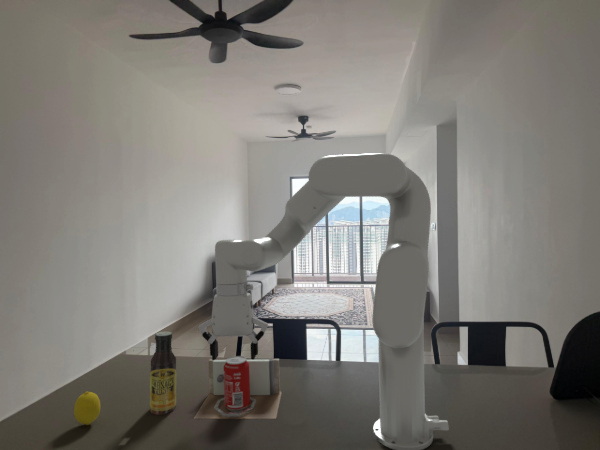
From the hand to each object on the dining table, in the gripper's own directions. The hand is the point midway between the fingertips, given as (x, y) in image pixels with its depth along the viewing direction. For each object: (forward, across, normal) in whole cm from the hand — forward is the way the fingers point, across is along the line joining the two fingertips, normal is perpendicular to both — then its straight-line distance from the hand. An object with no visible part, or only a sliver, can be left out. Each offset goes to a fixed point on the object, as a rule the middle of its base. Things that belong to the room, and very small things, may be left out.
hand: (234, 358), depth 97 cm
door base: (+13, -1, -2) cm, 14 cm away
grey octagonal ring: (+12, 0, 0) cm, 12 cm away
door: (+12, -1, -6) cm, 13 cm away
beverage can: (+13, 0, 0) cm, 13 cm away
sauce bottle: (+14, +18, 0) cm, 23 cm away
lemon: (+13, +34, +6) cm, 37 cm away
